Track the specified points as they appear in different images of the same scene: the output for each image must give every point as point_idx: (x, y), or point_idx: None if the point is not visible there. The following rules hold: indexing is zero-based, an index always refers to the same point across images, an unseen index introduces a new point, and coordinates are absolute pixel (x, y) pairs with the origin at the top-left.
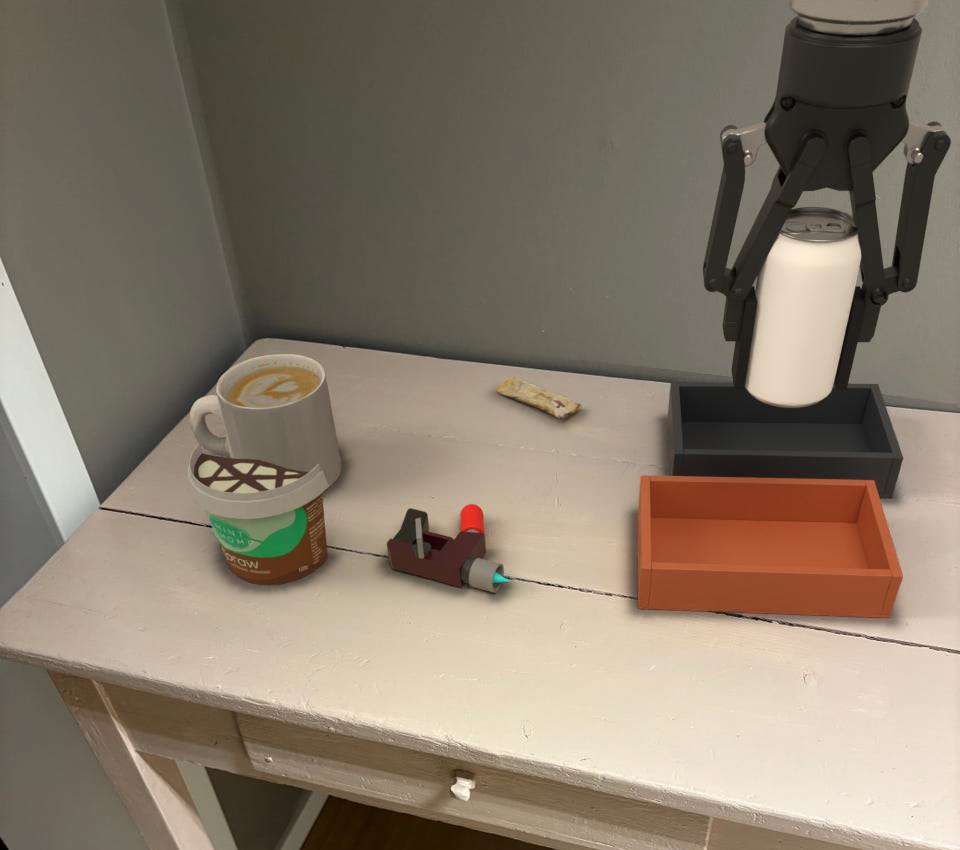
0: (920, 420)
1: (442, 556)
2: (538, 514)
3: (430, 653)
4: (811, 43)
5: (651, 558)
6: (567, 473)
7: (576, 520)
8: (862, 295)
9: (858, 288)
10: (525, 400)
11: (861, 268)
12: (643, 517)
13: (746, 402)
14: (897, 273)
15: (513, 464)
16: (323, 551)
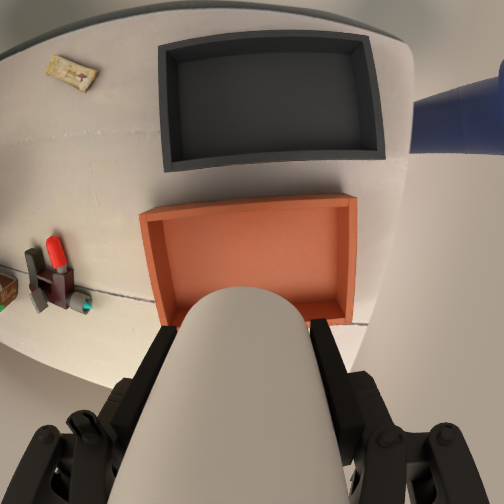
0: (394, 52)
1: (54, 299)
2: (88, 219)
3: (84, 347)
4: None
5: (167, 323)
6: (97, 160)
7: (113, 222)
8: (355, 447)
9: (358, 432)
10: (61, 80)
11: (356, 489)
12: (151, 276)
13: (240, 46)
14: (414, 479)
15: (63, 159)
16: (13, 285)
